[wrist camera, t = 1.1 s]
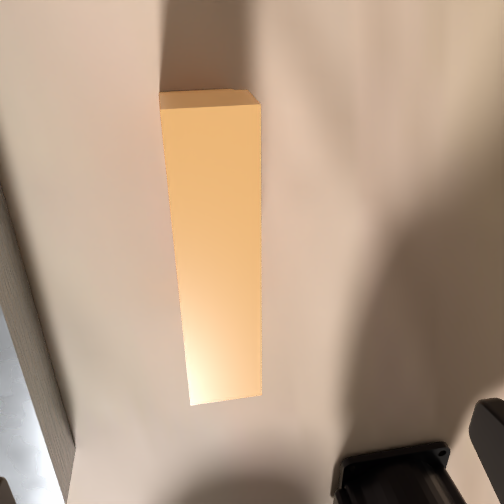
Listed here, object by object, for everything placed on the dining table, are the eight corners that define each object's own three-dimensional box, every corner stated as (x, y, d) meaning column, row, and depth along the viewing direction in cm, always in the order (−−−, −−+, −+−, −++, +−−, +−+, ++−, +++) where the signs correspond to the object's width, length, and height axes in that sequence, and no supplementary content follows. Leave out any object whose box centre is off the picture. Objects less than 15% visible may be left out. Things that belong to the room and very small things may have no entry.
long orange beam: (232, 73, 16) (260, 104, 12) (239, 312, 21) (261, 395, 17) (157, 76, 16) (159, 109, 12) (182, 318, 21) (190, 405, 17)
